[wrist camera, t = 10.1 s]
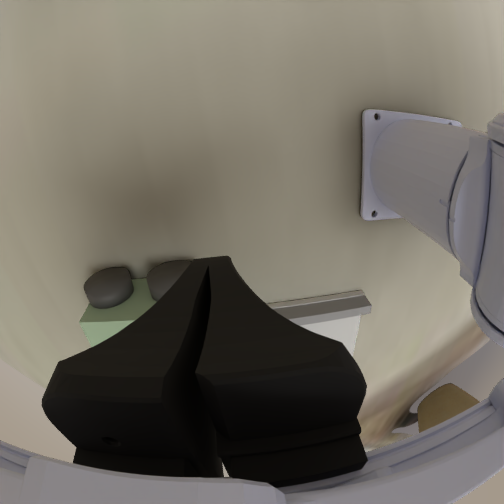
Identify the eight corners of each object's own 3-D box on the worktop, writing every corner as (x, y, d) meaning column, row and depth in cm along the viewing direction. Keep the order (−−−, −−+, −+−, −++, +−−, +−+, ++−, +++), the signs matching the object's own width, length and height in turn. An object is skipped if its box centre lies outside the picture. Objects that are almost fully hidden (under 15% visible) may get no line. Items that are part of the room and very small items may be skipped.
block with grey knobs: (368, 239, 21) (409, 281, 16) (340, 396, 31) (355, 438, 25) (93, 269, 20) (62, 319, 15) (161, 416, 30) (157, 459, 24)
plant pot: (482, 365, 35) (526, 429, 21) (431, 419, 41) (462, 481, 27) (440, 365, 31) (492, 452, 17) (379, 427, 37) (410, 506, 23)
